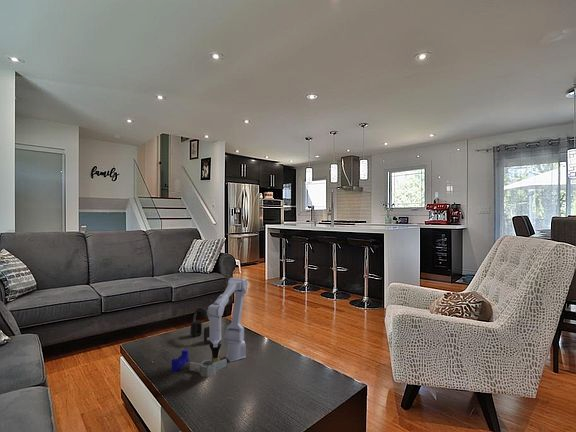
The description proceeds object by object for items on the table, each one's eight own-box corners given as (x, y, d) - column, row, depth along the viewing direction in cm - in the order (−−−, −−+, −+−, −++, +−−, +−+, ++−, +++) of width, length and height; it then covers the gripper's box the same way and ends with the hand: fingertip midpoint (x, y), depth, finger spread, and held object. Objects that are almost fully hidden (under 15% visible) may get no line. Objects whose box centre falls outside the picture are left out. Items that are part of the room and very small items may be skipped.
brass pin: (218, 357, 157) (218, 342, 157) (220, 360, 153) (221, 344, 154) (210, 359, 155) (210, 343, 155) (212, 362, 151) (213, 346, 151)
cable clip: (180, 360, 170) (180, 349, 170) (188, 361, 169) (188, 350, 169) (169, 371, 158) (169, 359, 158) (177, 372, 157) (177, 360, 157)
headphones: (189, 335, 205) (189, 305, 205) (197, 333, 209) (197, 303, 209) (208, 345, 190) (208, 312, 190) (216, 342, 194) (216, 310, 194)
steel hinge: (222, 361, 168) (222, 352, 168) (230, 370, 158) (230, 361, 158) (189, 369, 159) (189, 360, 159) (196, 380, 149) (196, 370, 149)
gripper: (207, 324, 160) (207, 350, 160) (206, 334, 146) (206, 363, 146) (221, 323, 162) (221, 349, 162) (221, 333, 148) (221, 361, 148)
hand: (215, 355), depth 154 cm, fingers closed on brass pin, 4 cm apart
